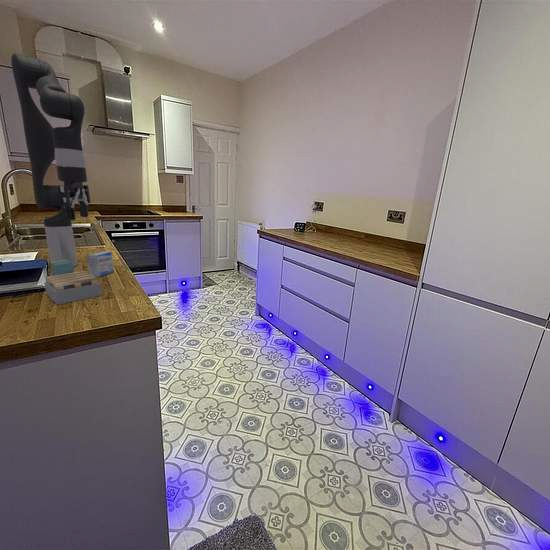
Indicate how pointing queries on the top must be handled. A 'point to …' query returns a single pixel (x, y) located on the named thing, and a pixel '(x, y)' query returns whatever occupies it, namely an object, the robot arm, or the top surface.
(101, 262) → the medicine box
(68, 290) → the platform
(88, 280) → the pallet
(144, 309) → the top surface
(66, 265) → the teal upright block
